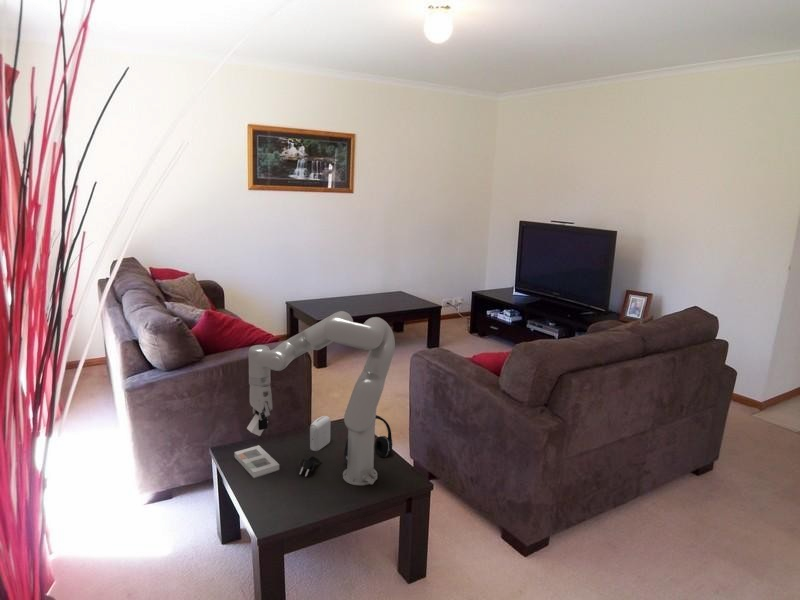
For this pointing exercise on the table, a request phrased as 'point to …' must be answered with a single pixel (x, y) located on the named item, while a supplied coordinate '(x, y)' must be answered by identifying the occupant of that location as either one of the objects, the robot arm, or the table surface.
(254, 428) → the plug
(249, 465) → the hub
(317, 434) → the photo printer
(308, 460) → the power plug
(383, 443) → the headphones
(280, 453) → the table surface
